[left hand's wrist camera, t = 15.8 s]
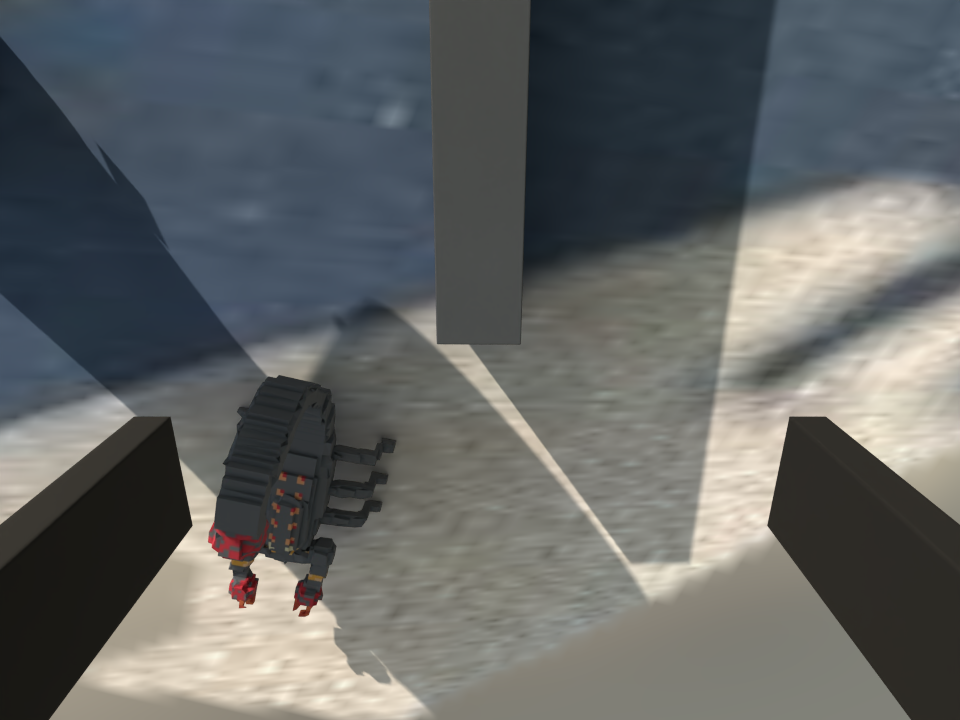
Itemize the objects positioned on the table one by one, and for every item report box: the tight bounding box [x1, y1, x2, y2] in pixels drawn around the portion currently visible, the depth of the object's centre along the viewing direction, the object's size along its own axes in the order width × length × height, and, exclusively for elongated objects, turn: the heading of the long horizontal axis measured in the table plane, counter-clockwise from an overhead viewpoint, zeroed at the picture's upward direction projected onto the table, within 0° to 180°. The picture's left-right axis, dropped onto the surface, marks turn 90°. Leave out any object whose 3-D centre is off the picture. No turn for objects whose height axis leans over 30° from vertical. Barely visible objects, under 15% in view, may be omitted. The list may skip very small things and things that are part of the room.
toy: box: [208, 375, 396, 617], centre depth 43 cm, size 13×27×18 cm, turn 166°
